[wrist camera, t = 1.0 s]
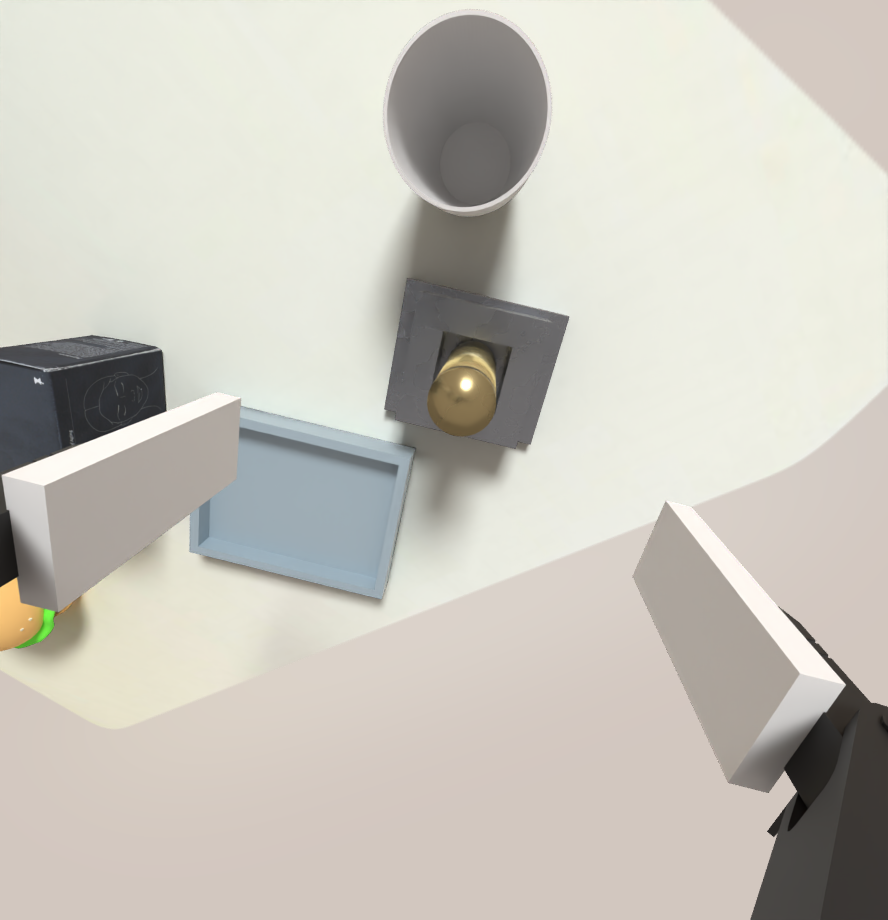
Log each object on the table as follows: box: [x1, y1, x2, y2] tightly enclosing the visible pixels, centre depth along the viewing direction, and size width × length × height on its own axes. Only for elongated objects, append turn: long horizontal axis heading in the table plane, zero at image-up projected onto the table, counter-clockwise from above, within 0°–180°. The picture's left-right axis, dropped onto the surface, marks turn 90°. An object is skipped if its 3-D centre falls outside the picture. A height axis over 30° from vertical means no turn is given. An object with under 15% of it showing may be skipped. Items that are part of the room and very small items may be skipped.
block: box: [384, 278, 569, 449], centre depth 34 cm, size 12×10×4 cm
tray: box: [190, 406, 415, 599], centre depth 41 cm, size 18×14×2 cm
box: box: [0, 335, 166, 472], centre depth 36 cm, size 11×7×10 cm, turn 171°
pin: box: [427, 341, 496, 436], centre depth 30 cm, size 4×4×12 cm
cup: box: [383, 9, 552, 217], centre depth 27 cm, size 8×8×10 cm
